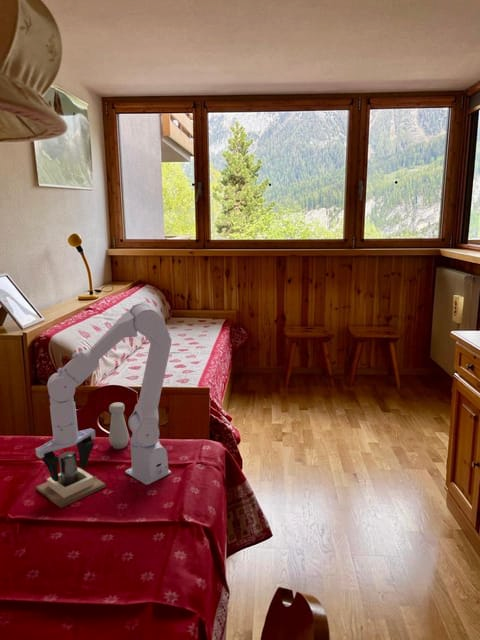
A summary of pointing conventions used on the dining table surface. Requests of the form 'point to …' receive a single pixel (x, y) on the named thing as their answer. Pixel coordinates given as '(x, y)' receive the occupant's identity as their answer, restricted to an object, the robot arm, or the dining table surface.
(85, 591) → the dining table surface
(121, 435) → the salt shaker
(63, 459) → the peg
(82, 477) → the socket board
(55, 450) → the robot arm
